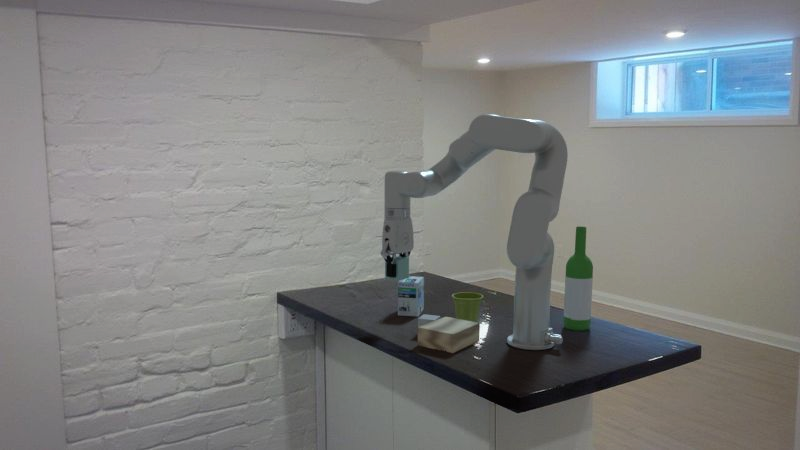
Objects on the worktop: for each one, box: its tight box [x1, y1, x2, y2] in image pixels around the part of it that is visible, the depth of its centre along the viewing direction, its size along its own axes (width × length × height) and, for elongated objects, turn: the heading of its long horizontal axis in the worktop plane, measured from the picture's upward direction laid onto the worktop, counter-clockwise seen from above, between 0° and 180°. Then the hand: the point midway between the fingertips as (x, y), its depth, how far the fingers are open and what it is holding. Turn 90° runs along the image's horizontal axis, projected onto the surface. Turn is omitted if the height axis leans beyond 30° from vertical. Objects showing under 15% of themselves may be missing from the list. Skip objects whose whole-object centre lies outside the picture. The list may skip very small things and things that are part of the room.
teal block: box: [384, 255, 410, 282], centre depth 207 cm, size 5×5×6 cm
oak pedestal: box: [417, 316, 481, 354], centre depth 191 cm, size 11×14×5 cm
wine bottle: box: [562, 226, 594, 332], centre depth 206 cm, size 8×8×30 cm
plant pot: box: [451, 291, 484, 323], centre depth 211 cm, size 9×9×9 cm
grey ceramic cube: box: [417, 313, 441, 328], centre depth 200 cm, size 5×5×5 cm
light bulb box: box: [397, 275, 425, 318], centre depth 223 cm, size 11×7×11 cm, turn 168°
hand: (397, 274), depth 207 cm, fingers closed on teal block, 5 cm apart
